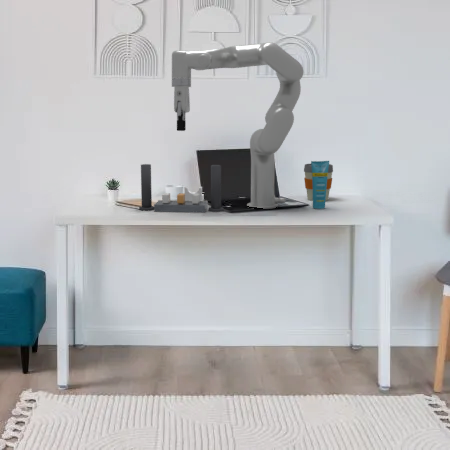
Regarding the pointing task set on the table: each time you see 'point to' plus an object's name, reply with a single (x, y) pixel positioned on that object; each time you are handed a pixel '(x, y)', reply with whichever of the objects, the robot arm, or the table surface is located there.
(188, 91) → the robot arm
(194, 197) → the paddle
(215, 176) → the post
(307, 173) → the reusable coffee cup
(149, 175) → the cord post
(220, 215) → the table surface
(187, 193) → the bracket
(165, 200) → the white rectangular block
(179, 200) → the block
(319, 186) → the tube
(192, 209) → the breaker panel
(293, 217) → the table surface
